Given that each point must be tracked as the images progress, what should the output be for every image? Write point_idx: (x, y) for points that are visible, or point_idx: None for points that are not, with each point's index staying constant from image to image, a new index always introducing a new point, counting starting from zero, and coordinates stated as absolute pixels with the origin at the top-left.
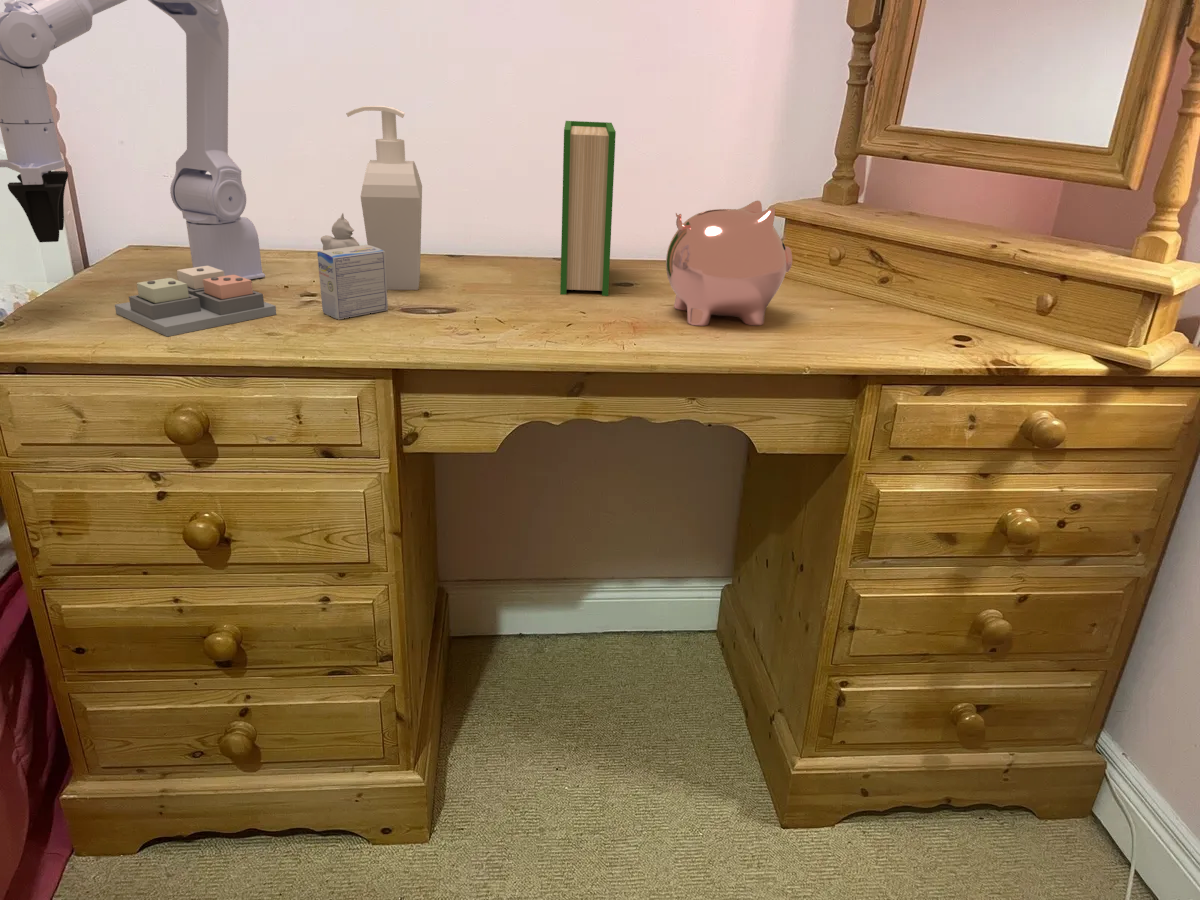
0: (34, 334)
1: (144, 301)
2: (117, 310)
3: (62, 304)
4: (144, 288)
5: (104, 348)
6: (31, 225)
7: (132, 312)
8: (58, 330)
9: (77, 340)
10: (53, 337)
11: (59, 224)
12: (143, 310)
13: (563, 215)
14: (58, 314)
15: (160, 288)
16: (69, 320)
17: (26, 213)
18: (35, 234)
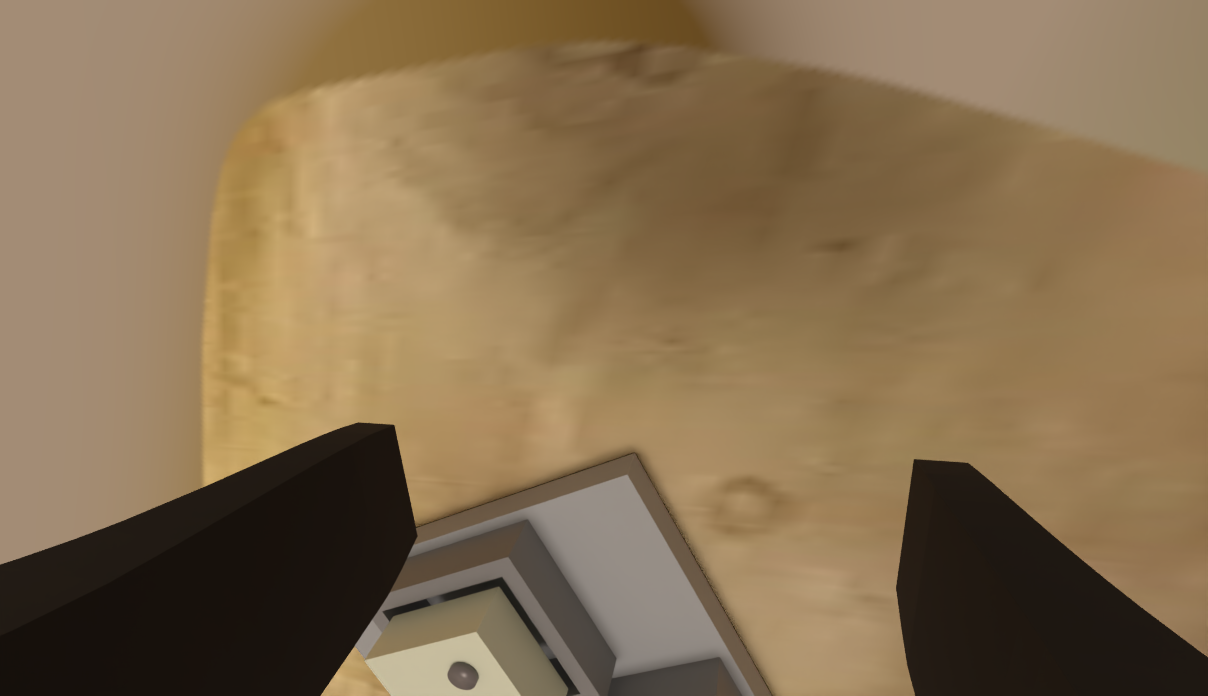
0: (381, 176)
1: (422, 592)
2: (616, 467)
3: (891, 244)
4: (427, 636)
5: (217, 402)
6: (229, 478)
7: (491, 519)
8: (427, 259)
9: (298, 328)
10: (337, 249)
11: (909, 615)
12: (431, 561)
13: None
14: (686, 240)
15: (381, 681)
16: (570, 290)
17: (70, 547)
18: (307, 443)
